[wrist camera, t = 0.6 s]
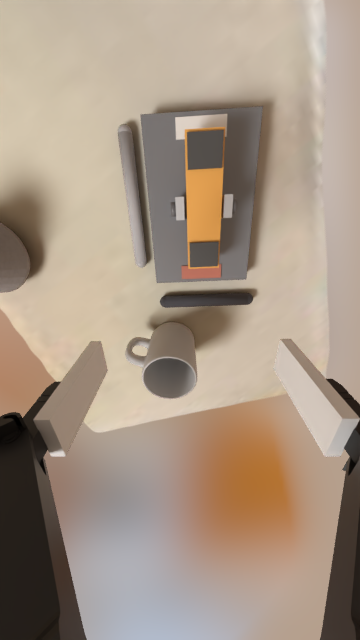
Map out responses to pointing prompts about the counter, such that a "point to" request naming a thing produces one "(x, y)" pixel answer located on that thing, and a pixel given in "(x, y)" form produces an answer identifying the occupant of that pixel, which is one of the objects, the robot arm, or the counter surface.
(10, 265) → the coffee pot
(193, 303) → the black rounded bar
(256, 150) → the panel
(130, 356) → the mug
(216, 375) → the counter surface
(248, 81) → the counter surface
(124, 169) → the grey rod
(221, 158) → the lever
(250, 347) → the counter surface
